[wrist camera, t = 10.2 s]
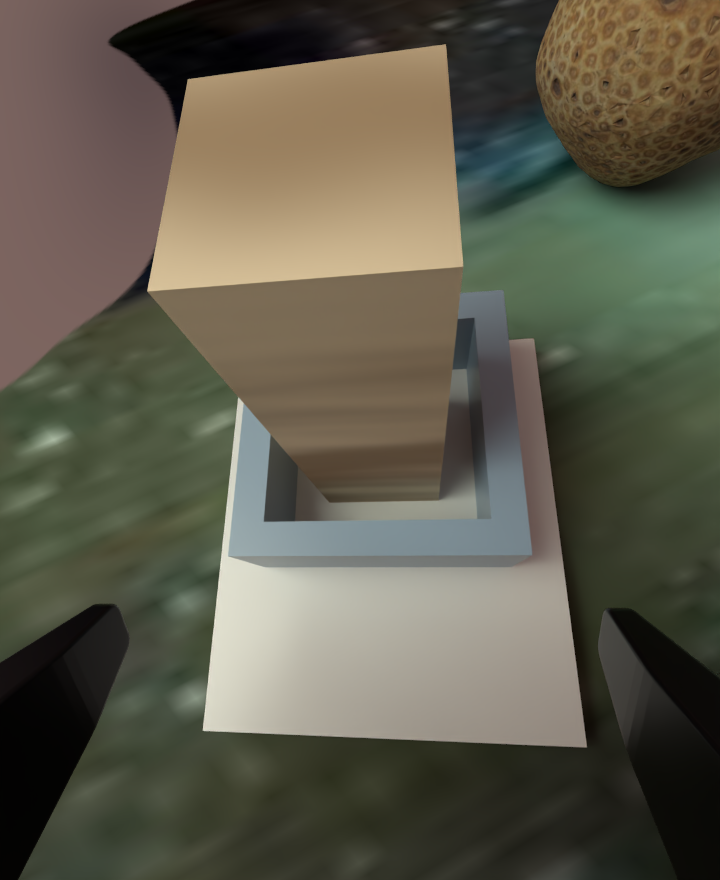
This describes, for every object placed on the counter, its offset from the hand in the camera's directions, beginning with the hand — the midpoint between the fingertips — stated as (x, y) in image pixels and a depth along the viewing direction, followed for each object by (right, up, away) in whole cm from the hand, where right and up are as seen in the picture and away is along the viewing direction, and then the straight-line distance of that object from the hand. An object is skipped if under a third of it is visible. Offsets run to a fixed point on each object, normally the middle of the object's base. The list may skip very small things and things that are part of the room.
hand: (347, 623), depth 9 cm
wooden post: (+1, +3, +9) cm, 10 cm away
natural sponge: (+12, +16, +14) cm, 25 cm away
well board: (+1, 0, +9) cm, 10 cm away
